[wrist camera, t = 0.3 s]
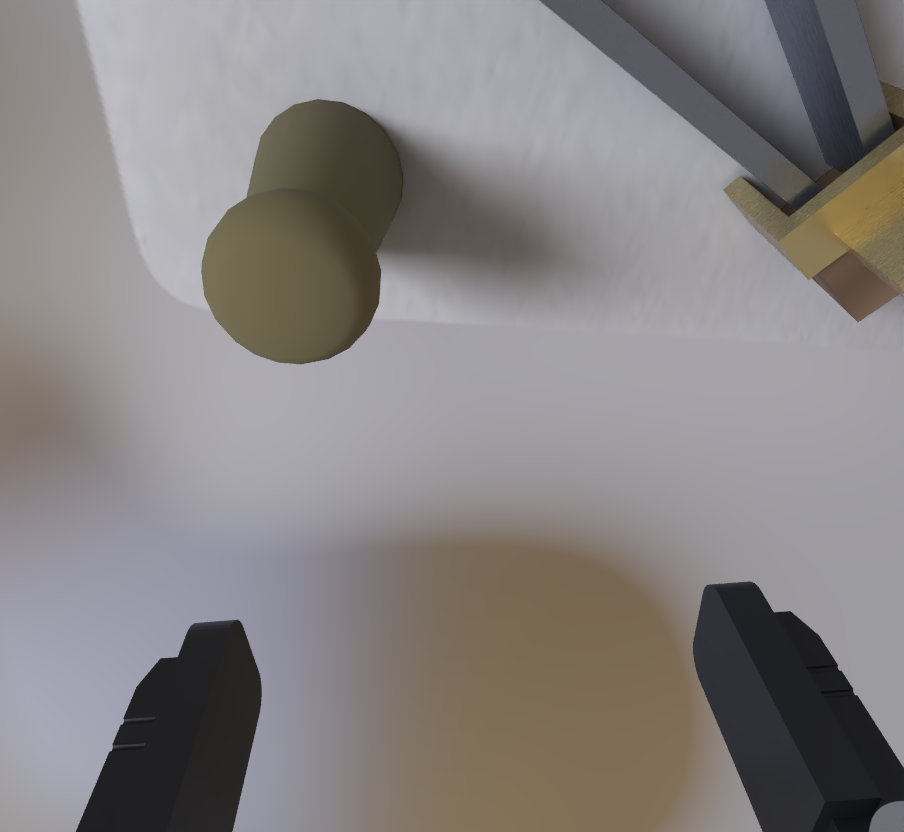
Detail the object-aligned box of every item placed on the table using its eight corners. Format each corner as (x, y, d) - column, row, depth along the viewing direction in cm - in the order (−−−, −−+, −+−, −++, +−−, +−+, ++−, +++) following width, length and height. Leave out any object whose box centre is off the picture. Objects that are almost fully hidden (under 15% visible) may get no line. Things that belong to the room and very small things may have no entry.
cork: (425, 220, 28) (425, 359, 19) (299, 267, 29) (246, 418, 20) (365, 74, 24) (332, 164, 16) (225, 134, 26) (123, 248, 17)
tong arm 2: (804, 180, 27) (854, 216, 24) (785, 200, 27) (831, 238, 24) (489, -86, 21) (501, -85, 18) (472, -54, 22) (481, -48, 19)
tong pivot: (908, 187, 28) (987, 233, 24) (801, 267, 30) (858, 322, 26) (874, 134, 26) (953, 173, 22) (765, 222, 29) (819, 272, 25)
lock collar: (884, 115, 26) (1071, 199, 18) (750, 224, 28) (866, 335, 21) (859, 73, 25) (1045, 143, 17) (723, 189, 27) (834, 294, 20)
